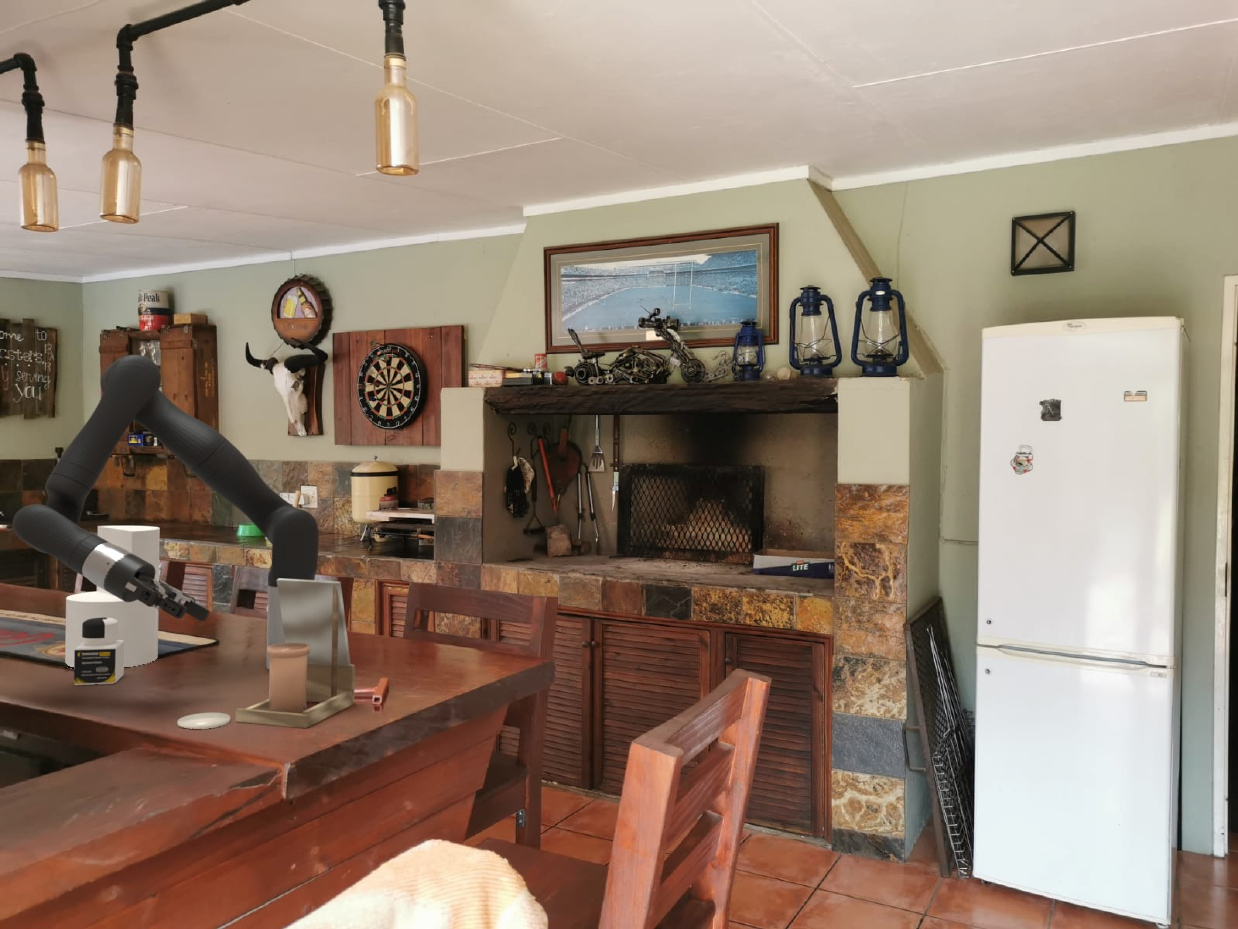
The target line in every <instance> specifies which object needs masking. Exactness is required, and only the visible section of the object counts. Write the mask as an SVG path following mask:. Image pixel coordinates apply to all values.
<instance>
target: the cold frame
mask: <svg viewBox="0 0 1238 929" xmlns="http://www.w3.org/2000/svg"><path fill="white" fill-rule="evenodd" d="M277 587H278V594H279V601H280V608H281V615H282V622H283V629H284V636H285V643H305V644H308V645H310V653H309V654H308V655H307V691H306V702H313V703H314V702H315V703H318V704H316V705H313V706H311V707H309V708H306V710H305V711H303V714H300V713H288V712H277V711H269V698H267V699H265V700H263V701H260V702H258V703H254V704H253V705H250V706H248V707H246V708H242V707H240V708H236V709H235V723H244V722H245V723H247V724H257V725H267V726H279V727H289V728H290V727H291V728H300V729H307V728H309V727H311V726H313V725H315V724H318V723H319V722H321V721H323V720H325V719H327V718H329V717H331V716H333V715H334V714H337V713H339V712H340V711H343V710H345V709H347V708H349V707H350V706H353V705H354V704H355V688H356V687H355V681H356V679H355V677H356V676H355V675H356V673H355V671H356V665H355V664H351V658H350V657H351V656H350V649H349V648H350V646H349V640H348V631H347V630H348V629H347V624H346V616H345V615H346V614H345V607H344V599H343V591H342V589H343V588H342V582H341V581H335V580H316V579H315V580H301V579H283V578H279V579H277Z"/></svg>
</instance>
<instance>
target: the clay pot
mask: <svg viewBox="0 0 1238 929" xmlns="http://www.w3.org/2000/svg"><path fill="white" fill-rule="evenodd" d="M309 653H310V645H308V644H305V643H280V644H274V645H271V646H268V647H267V646H266V656H267V655H268V656H269V657H270V670H269V676H268V677H269V678H268V679H269V686H268V688H269V689H268V699H269V710H268V711H277V712H288V713H300V714H303V711H305V710H307V701H306V691H307V655H308V654H309Z"/></svg>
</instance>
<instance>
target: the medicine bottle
mask: <svg viewBox="0 0 1238 929" xmlns="http://www.w3.org/2000/svg"><path fill="white" fill-rule="evenodd" d="M117 638H118V621H117V620H116V619H113V618H92V619H88V620H86V621H84V622H83V623H82V641H83V642H84V643H82V644H81V645H79V646H78V647H76V648H75V652H74V669H73V684H74V686H92V685H93V686H94V685H95V684H98V685H113V684H114V683H115V684H116V683H117V682H118V681H120V679H121V678H122V677H123V676H124V674H125V672H124V670H125V668H124V641H123V640H116V639H117Z"/></svg>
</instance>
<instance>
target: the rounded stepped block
mask: <svg viewBox="0 0 1238 929" xmlns="http://www.w3.org/2000/svg"><path fill="white" fill-rule="evenodd" d="M160 531H161V530H160V527H158V526H153V525H151V526H150V525H97V536H99V537H101V538H103V539H104V540H106V541H108V542H110V543H112V544H114V545H116V546H119V547H121V548H123V549H125V550H127V551H129V552H131V553H132V554H134V555H136V556H138V557H139V558H141V559H143V560H145V561H146V562H148V563H150V564H152V565H153V566H154V568H155V580H156V581H158V582H159V580H160V578H159V577H160V538H161V537H160V535H161V533H160ZM92 618H113V619H116V620H117V621H118V638H117V639H116V640H123V641H124V667H131V668H134V667H133V666H136V667H139V666H138V665H141V666H143V665H142V664H145V665H148V664H147V663H149V664H151V663H153V662H152V661H154V662H156V661H157V660H158V659H157V658H158V655H159V654H158V653H159V651H158V650H159V649H158V648H159V609H156V608H155V607H148V606H147V605H146V604H144V603H142V602H141V601H139V600H136V601H133V602H125V601H123V600H121V599H119V598H118V597H116V596H114V595H113V594H111V593H109V592H107V591H105V590H104V589H102V588H100V587H98V586H97V585H96V591H87V592H82V593H81V592H80V593H75V594H74V593H73V594H71V595H68V596H66V598H65V643H64V645H65V649H64V650H65V653H64V654H65V655H64V656H65V657H64V658H65V659H64V660H65V661H64V664H65V663H66V664H67V665H68V666H70V667H74V652H75V648H76V647H78V646H79V645H81V644H82V643H84V642H83V641H82V623H83V622H84V621H86V620H88V619H92ZM156 659H157V660H156ZM155 660H156V661H155ZM150 662H151V663H150Z"/></svg>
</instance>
